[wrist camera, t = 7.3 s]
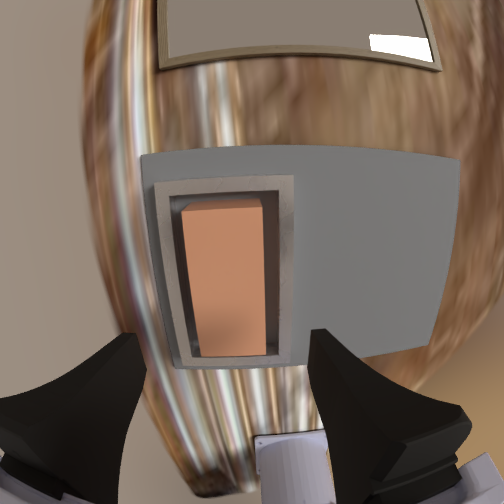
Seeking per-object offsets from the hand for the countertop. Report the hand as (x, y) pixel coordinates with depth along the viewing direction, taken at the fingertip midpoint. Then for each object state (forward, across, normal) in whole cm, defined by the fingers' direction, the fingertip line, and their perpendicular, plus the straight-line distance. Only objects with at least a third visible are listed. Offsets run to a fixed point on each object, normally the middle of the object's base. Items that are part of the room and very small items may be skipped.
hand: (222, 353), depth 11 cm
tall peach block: (+8, 0, 0) cm, 8 cm away
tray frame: (+8, 0, 0) cm, 8 cm away
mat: (+8, -6, 0) cm, 10 cm away
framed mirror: (+9, -5, -28) cm, 30 cm away
